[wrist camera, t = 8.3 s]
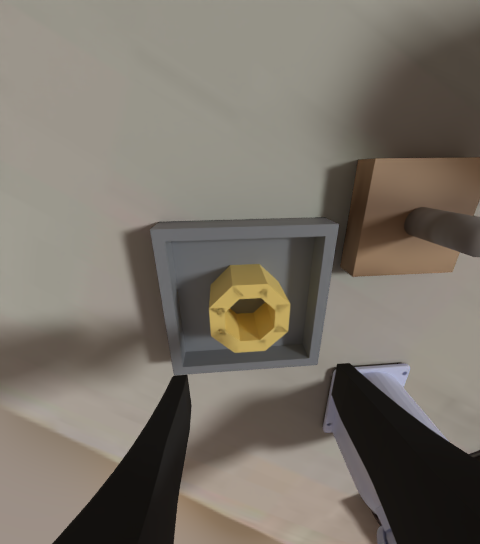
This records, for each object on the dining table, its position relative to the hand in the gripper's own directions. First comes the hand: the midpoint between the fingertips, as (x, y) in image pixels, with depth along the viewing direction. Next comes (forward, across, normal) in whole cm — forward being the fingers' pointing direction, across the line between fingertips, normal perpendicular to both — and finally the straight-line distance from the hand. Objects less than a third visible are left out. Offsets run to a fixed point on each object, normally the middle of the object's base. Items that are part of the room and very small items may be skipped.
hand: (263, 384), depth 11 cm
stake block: (+9, -12, -6) cm, 16 cm away
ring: (+9, 0, 0) cm, 9 cm away
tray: (+9, 0, 0) cm, 9 cm away
